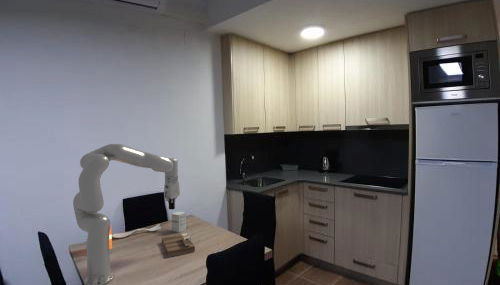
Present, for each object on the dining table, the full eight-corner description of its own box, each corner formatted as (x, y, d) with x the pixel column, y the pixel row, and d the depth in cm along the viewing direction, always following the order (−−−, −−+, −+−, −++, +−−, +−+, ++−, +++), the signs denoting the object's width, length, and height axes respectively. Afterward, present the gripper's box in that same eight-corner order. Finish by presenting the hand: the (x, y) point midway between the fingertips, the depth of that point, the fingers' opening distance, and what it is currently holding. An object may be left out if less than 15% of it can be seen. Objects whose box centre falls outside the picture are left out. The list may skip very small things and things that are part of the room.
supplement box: (171, 231, 191) (170, 213, 190) (178, 227, 197) (178, 210, 197) (179, 232, 187) (178, 214, 187) (186, 229, 194) (186, 212, 194)
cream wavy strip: (162, 231, 191) (162, 227, 191) (112, 241, 175) (111, 236, 175) (159, 228, 198) (159, 223, 198) (111, 236, 183) (111, 231, 183)
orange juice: (106, 244, 169) (104, 213, 169) (112, 248, 164) (111, 215, 163) (92, 248, 163) (91, 216, 163) (98, 252, 158) (97, 219, 157)
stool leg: (190, 245, 157) (190, 239, 157) (185, 246, 156) (185, 240, 156) (186, 237, 169) (186, 232, 169) (181, 238, 168) (181, 232, 168)
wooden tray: (194, 251, 157) (194, 241, 157) (168, 257, 150) (168, 246, 150) (185, 237, 178) (184, 228, 178) (161, 242, 172) (161, 232, 171)
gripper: (169, 181, 153) (169, 212, 154) (183, 177, 168) (183, 206, 168) (158, 180, 156) (158, 211, 156) (173, 176, 170) (173, 205, 170)
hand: (171, 209), depth 162 cm, fingers closed
